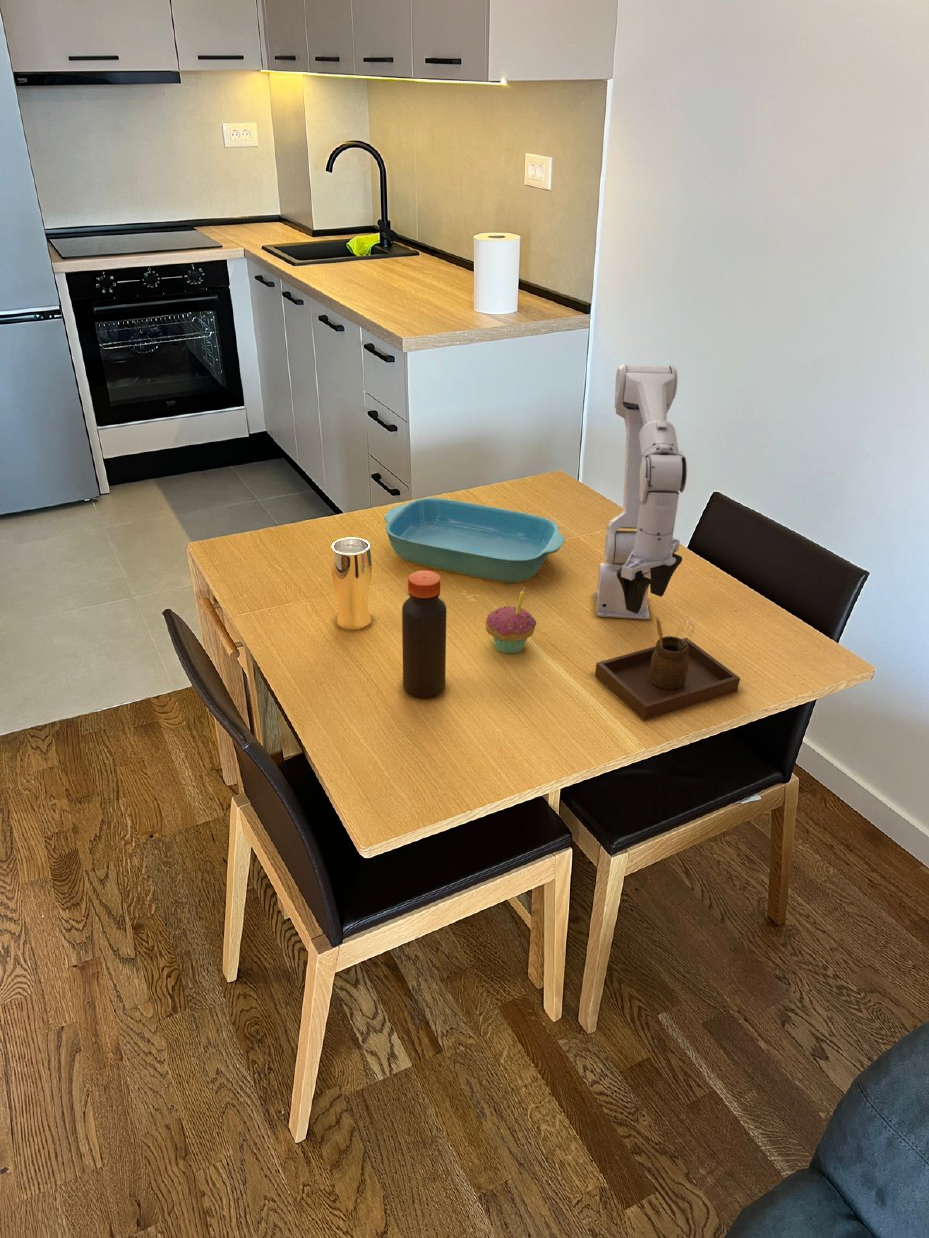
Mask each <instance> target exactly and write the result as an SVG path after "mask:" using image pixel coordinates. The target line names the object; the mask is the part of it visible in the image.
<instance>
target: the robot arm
mask: <svg viewBox="0 0 929 1238" xmlns="http://www.w3.org/2000/svg"><path fill="white" fill-rule="evenodd" d="M614 385H615V386H614V389H615V390H614V409H615V414H616V415H617V416H618V417H620V418H623V420H624V426H625V430H626V431H625V455H624V480H623V499H622V501H623V503H622V512H620V513H619V514H618V515H616V516H615V517H613V518H612V519H610V521H609V522H608V524H607V525H606V532H605V533H606V534H605V539H604V551H603V552H604V561H605V562H600V563H599V565H598V572H597V581H596V590H595V592H594V601H595V609H596V610H595V611H596V616H597V617H602V618H603V617H604V618H620V619H634V620H635V619H636V620H649V619H650V612H649V605H648V594H649V592H650V594H652V595H655V596H657V597H659V598H662V597H663V596H664V595H665V593H666V590H667V588H668V586H669V584H670V581H671V579H672V577H673V575H674V573H675V572H676V570H677V568H678V567H679V566H680V565H681V563H682V562H683V557H682V556H681V555H679V554H676V553H677V552H678V551H679V548H680V543H681V540H680V539H677V538H675V537H673V536H674V532H675V531H674V530H675V525H676V518H677V512H678V511H677V510H678V505H679V499H680V493H681V494H682V493H684V491H685V488H686V485H687V479H688V462H687V457H686V454H684V453H683V450H682V451H680V450H679V446H678V445H679V444H678V438H677V433H676V428H675V426H674V425H673V424H672V423H671V422H669V421H668V412H669V411H670V409H671V407H672V405H673V402H674V400H675V398H676V395H677V391H678V390H677V389H678V371H677V369H676V368H675V366H674V365H669V366H667V365H665V366H664V365H639V364H638V365H635V364H634V365H633V364H625V363H622V364H620V365H619V366H618V367H617V371H616V375H615V384H614ZM619 529H630V530H619ZM631 529H633V530H631ZM635 529H636V530H635Z"/></svg>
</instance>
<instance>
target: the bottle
mask: <svg viewBox="0 0 929 1238" xmlns="http://www.w3.org/2000/svg"><path fill="white" fill-rule="evenodd" d="M441 584H442V578H441V576H440V575H439V573H437V572H435V571H431V570H417V571H414V572H412V573H410V574H409V575H408V576H407V592H408V596H409V597H408V598H407V599H406V600H405V601H404V603H402V607H401V620H402V621H401V636H402V638H401V639H402V688H403V691H404V692H405V693H406V694H407V695H409V696H410V697H412V698H416V699H423V700H427V699H433V698H435V697H438V696H439V695H441V694H442V693H443V692H444V690H445V688H446V668H447V667H446V665H447V660H446V659H447V657H446V656H447V605H446V603H445V601H444V600H443V599H441V598H440V596H441V586H442V585H441Z"/></svg>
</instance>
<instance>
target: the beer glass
mask: <svg viewBox="0 0 929 1238" xmlns="http://www.w3.org/2000/svg"><path fill="white" fill-rule="evenodd" d="M330 548H331V555H330V556H331V557H330V567H331V568H330V569H331V578H332V583H333V588H334V591H335V593H336V595H335V596H336V600H337V615H336V624H337V625H338V626H339V627H340V628H342V629H345V630H349V631H356V630H362V629H364V628H366V627H368V626H369V625H370V624H371V622H372V617H371V612H370V609H369V597H370V591H371V584H372V578H373V577H372V576H373V565H372V564H373V561H372V554H371V553H372V552H371V543H370V542H369V541H367V540H366V539H363V538H359V537H344V538H340V539H338V540H335V541H334V542H333V543H332V544H331V547H330Z"/></svg>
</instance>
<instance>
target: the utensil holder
mask: <svg viewBox="0 0 929 1238" xmlns="http://www.w3.org/2000/svg"><path fill="white" fill-rule="evenodd" d="M686 623H687V624H686ZM655 624H656V632H657V635H658V639H657V641H656V643H655V645H654V646H655V650H654V652H653V654H652V659H651V665H650V673H649V677H650V680H651V682H652V683H653V684H654V685H656V686H657V687H660V688H663V689H668V690H673V689H678V688H680V687H682V686H683V685H684V683H685V681H686V676H687V671H688V665H689V656H688V652H689V646H688V644H687V642H686V641H687V640H686V641H684V640H683V637H686V635H687V633H688V635H687V637H686V638H687V639H688V640H689V641H690V640H691V639H690V638H692V637H693V634H694V631H695V628H694V627H695V626H694V625H692V622H691V621H688V620H686V621H684V622H681V623H680V625H682V627H681V626H679V627H678V630H677V632H676V636H671V635H669V636H663V629H662V624H661V621H660V619H659V618H658V616H655ZM685 624H686V626H688V627H689V629H687V631H686V629H684V631H683V628H684V625H685ZM691 625H692V626H691ZM691 629H692V631H689V632H688V630H691ZM685 631H686V633H685V636H684V634H682V632H685ZM679 633H680V634H679ZM681 634H682V636H681ZM678 635H679V636H681V637H678ZM689 637H690V638H689Z"/></svg>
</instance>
